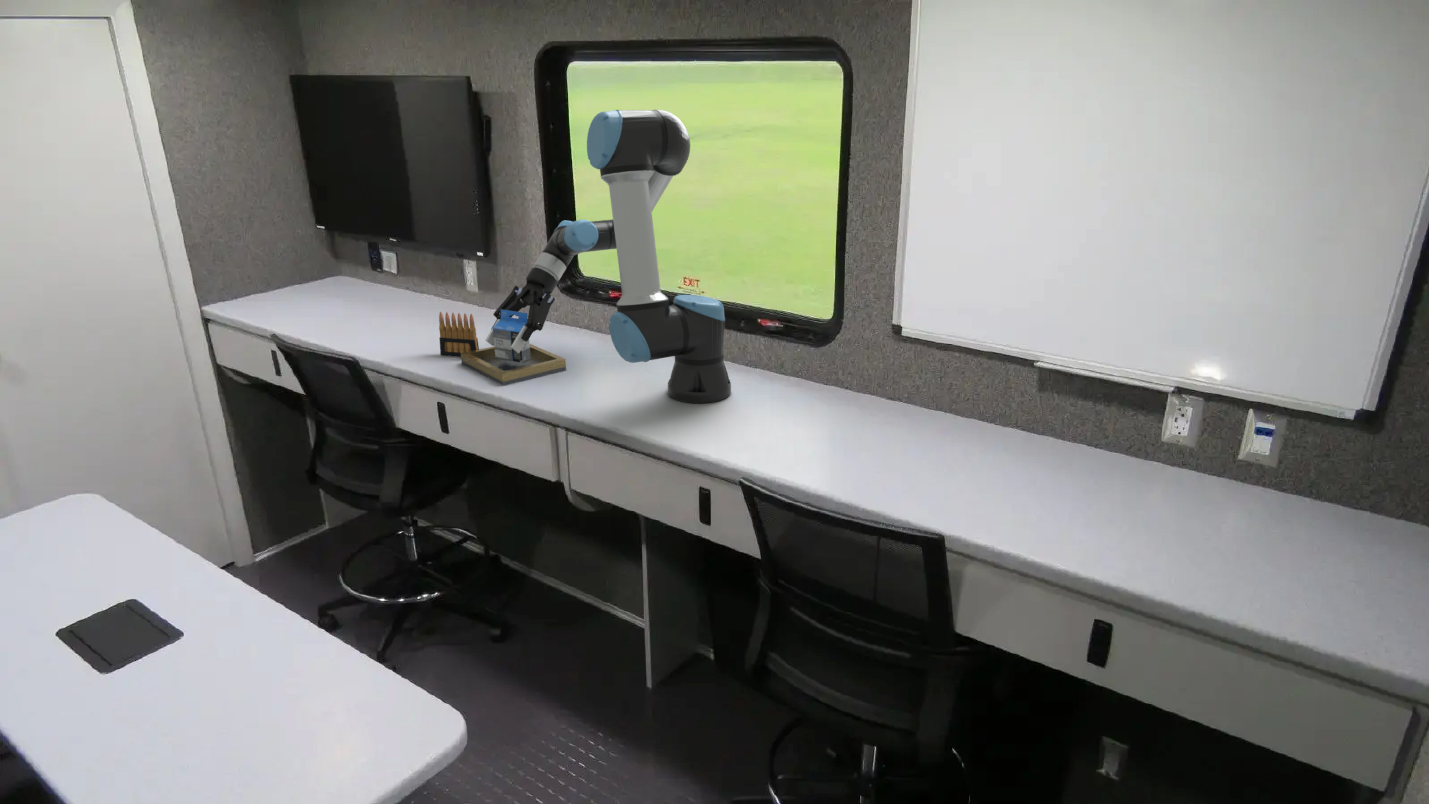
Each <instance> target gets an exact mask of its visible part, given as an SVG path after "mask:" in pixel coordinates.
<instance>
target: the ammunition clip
mask: <svg viewBox="0 0 1429 804" xmlns="http://www.w3.org/2000/svg"><path fill="white" fill-rule="evenodd" d="M438 320H439V323H438V324H439V326H438V328H439V329H438V330H439V338H438V339H439V349H440V351H439V352H440V353H439V354H440V356H442V357H455V358H461V353H464V352H469V351H474V350H478V349H480V348H479V340H478V339H479V338H478V337H477V330H476V326H475V325H476V324H475V319H474V316H473V313H470V315H469V319H468V316H467V314H466V313H464V314H463V319H462V315H461V313H460V312H458V313H457V319H456V315H455V313H454V312H452V313H451V319H450V315H449V313H448V311H446V312H445V318H444V315H443V313H442V311H440V312H439V315H438Z"/></svg>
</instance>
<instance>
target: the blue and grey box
mask: <svg viewBox="0 0 1429 804" xmlns="http://www.w3.org/2000/svg"><path fill="white" fill-rule="evenodd" d="M510 315H514V316H515V317H510ZM517 317H518V318H517ZM527 321H528V312H520V311H518V312H516V311H509V310H502V309H501V319H500V320H499V321H498V323H497V324H496V325H495V326H494V327H493V326H492V327H493V337H494V347H495V357H496V358H497V359H502V360H508V361H514V362H520V363H524V362H526V361H528V360H530V359H531V357H530V345H529V344H530V339H529V340H528V341H527V342H526V343H525V344H524V346H523V348H522V349H521V351H520V353H517V352H516V351H514V350H513V349H512V348H511V346H512V344H513V342H514V341H515V339H516V337H517V336H518V334H519V332H520V331H521V329H522V327H523V326H526V325H527V324H526V323H527ZM525 324H526V325H525ZM526 327H527V326H526Z"/></svg>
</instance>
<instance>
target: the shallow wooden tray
mask: <svg viewBox="0 0 1429 804" xmlns="http://www.w3.org/2000/svg"><path fill="white" fill-rule="evenodd" d="M529 345H530V357H531V359H530V360H528V361H526V362H524V363H520V362H514V361H508V360H502V359H497V358H496V357H495V347H494V346H489V347H485V348H479V349H478V350H474V351H469V352H464V353H461V357H460V359H461V364H462V366H464V367H467V368H468V369H469V370H470V369H471V370H473V372H476V373H477V374H480V375H482V376H484V377H486V378H487V379H490V380H491V381H493V382H496V383H497V384H500V385H502V386H503V385H504V386H507V385H512V384H515V383H519V382H523V381H527V380H531V379H536V378H540V377H544V376H548V375H553V374H556V373H561V372H564V371H567V360H566V358H564V357H561V356H559V355H557V354H556V353H552V352H550V351H547V350H546V349H543V348H540V347H538V346H537V345H534V344H532V343H529Z"/></svg>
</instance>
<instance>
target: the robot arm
mask: <svg viewBox="0 0 1429 804" xmlns="http://www.w3.org/2000/svg"><path fill="white" fill-rule="evenodd" d="M690 139H691V138H690V135H689V132H688V129H687V127H686V126H685V125H684V123H683V122H682V120H681V119H680V118H679V117H678V116H676V115H675V114H673V113H671V112H669V111H667V110H662V109H646V110H645V109H636V110H635V109H615V110H608V111H607V110H606V111H600V112H599V113H597V114H596V115H595V116H594V117H593V119H592V120H591V123H590V125H589V127H588V131H587V136H586V153H587V159H588V160H589V164H590V166H591V167H592V168H594V169H596V170H599V172H600V179H601V180H602V181H603V182H605V183H606V184H607V185H608V189H609V197H610V206H611V215H612V219H603V220H602V219H601V220H592V221H590V220H587V219H578V220H573V221H571V220H565V219H564V220H562V221H561V222H559V223H558V226H557V227H556V228H555V229H554V230H553V233H552V235H551V236H550V238H549V240H548V242H547V243H546V245H545V246H544V248H543V250H542V252H541V253H540V254H539V256H538V258H537V259H536V261H535V263H534V264H533V267H532V268H531V269H530V271H529V272H528V274H527V276H526V278H525V279H526V284H525V285H524V286H523V287H519V286H518V285H514V287H513V289H512V290H511V292H510V293H509V295H508V296H507V297H506V298H505V299H504V301H503V302H502V303H501V304H500V305H499V306H498V308H497V309H496V310H495V311H494V313H493V316H494V317H495V318H496V320H495V322H494V324H493V325H492V327H491V329H490V332H489V333H488V334H487V337H486V338H485V341H486V342H487V343H488V344H490V345H491V347H493V346H494V337H493V327H494V326H495V325H496V324H497V323H498V321H499V320H500V319H501V309H502V310H509V311H516V312H520V310H522V309H524V308H526V307H527V306H529V310H528V313H527V316H528V321H527V323H526V324H527V325H526V324H525V325H526V326H527V327H526V326H523V327H522V329H521V331H520V332H519V334H518V336H517V337H516V339H515V341H514V342H513V344H512V346H511V348H512V349H513V350H514V351H516V352H517V353H520V351H521V349H522V348H523V346H524V344H525V343H526V342H527V341H528V340H529V341H530V337H532V335H533V333H535V332H536V331H539V332H540V331H542V330H543V327H544V325H545V322H546V320H547V317H548V314H549V312H550V309H551V307H552V305H553V303H554V302H555V301H556V300H555V299H556V298H555V297H554V296H552V293H553V292H554V290H555V288H556V287H557V284H558V281H560V279H561V278H562V276H563V274H564V273H565V272H566V270H567V268H568V266H569V264H570V263H571V261H572V259H574V256H577V255H579V254H583V253H589V252H599V251H606V250H616V252H617V253H616V255H617V262H618V263H617V264H618V270H619V271H618V272H619V279H620V280H619V281H620V288H621V294H622V295H621V297H620V299H619V300H618V301H617V302H616V312H614V313H613V314H611V316H610V318H609V324H608V325H609V334H610V338H611V341H612V344H613V346H614V348H615V351H616V352H617V353H618V355H619V356H620V357H621V359H623V360H624V361H625V362H628V363H631V364H633V363H634V364H635V363H647V362H649V361H653V360H659V359H666V358H671V357H674V363H673V367H672V370H671V373H670V378H669V380H668V381H667V394H668V396H669V397H670V398H672V399H673V400H674V399H675V400H676V401H680V402H685V403H691V404H708V403H709V404H710V403H714V402H715V403H716V402H718V401H722V400H725V399H727V398H728V397H730V396H731V394H732V382H731V380H730V377H729V373H728V370H727V367H726V365H725V356H724V355H725V322H726V317H725V308H724V307H725V306H724V305H723V303H722V302H721V301H720V300H719V299H715V298H713V297H709V296H704V295H703V296H702V295H696V294H695V295H694V294H679V295H676V296H675V297H674V298H673V301H672V302H673V304H671V305H670V301H669V297H668V296H667V295H665V294H664V293H662V290H661V283H660V275H659V274H660V273H659V267H658V266H659V265H658V256H657V248H656V246H657V245H656V240H655V231H654V229H655V228H654V221H653V211H654V209H655V207H656V206H657V204H658V202H659V201H660V199H661V197H663V196H662V195H663V194H664V193H665V191H666V189H667V188H668V186H669V185H670V182H671V180H672V179H673V177H676V176H677V175H679V174H681V172H682V171H683V169H684V167H685V165H686V164H687V162H688V161H689V157H690V153H691V140H690ZM514 316H515V315H510V317H511V318H513V317H514Z"/></svg>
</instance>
